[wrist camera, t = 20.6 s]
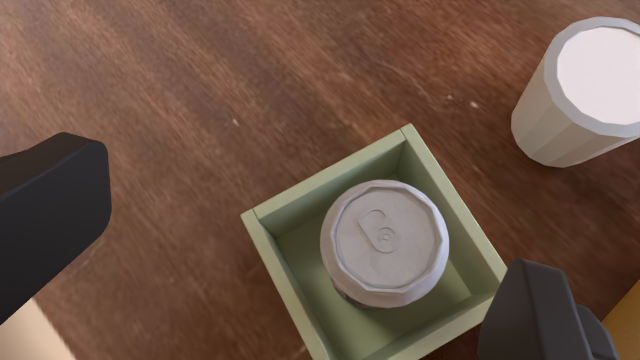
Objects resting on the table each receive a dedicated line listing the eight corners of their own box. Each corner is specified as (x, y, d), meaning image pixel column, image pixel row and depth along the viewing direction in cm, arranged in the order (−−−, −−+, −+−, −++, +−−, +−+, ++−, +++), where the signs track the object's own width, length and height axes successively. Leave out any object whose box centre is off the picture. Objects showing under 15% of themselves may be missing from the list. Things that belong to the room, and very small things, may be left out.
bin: (339, 386, 27) (337, 408, 21) (262, 236, 30) (239, 214, 23) (485, 300, 28) (526, 295, 22) (397, 162, 30) (411, 121, 24)
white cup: (619, 95, 31) (695, 35, 24) (598, 191, 29) (674, 155, 23) (514, 66, 32) (559, 0, 25) (489, 157, 30) (529, 112, 23)
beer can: (358, 326, 27) (367, 335, 16) (314, 256, 28) (293, 217, 17) (426, 281, 28) (483, 257, 16) (380, 214, 29) (403, 148, 17)
